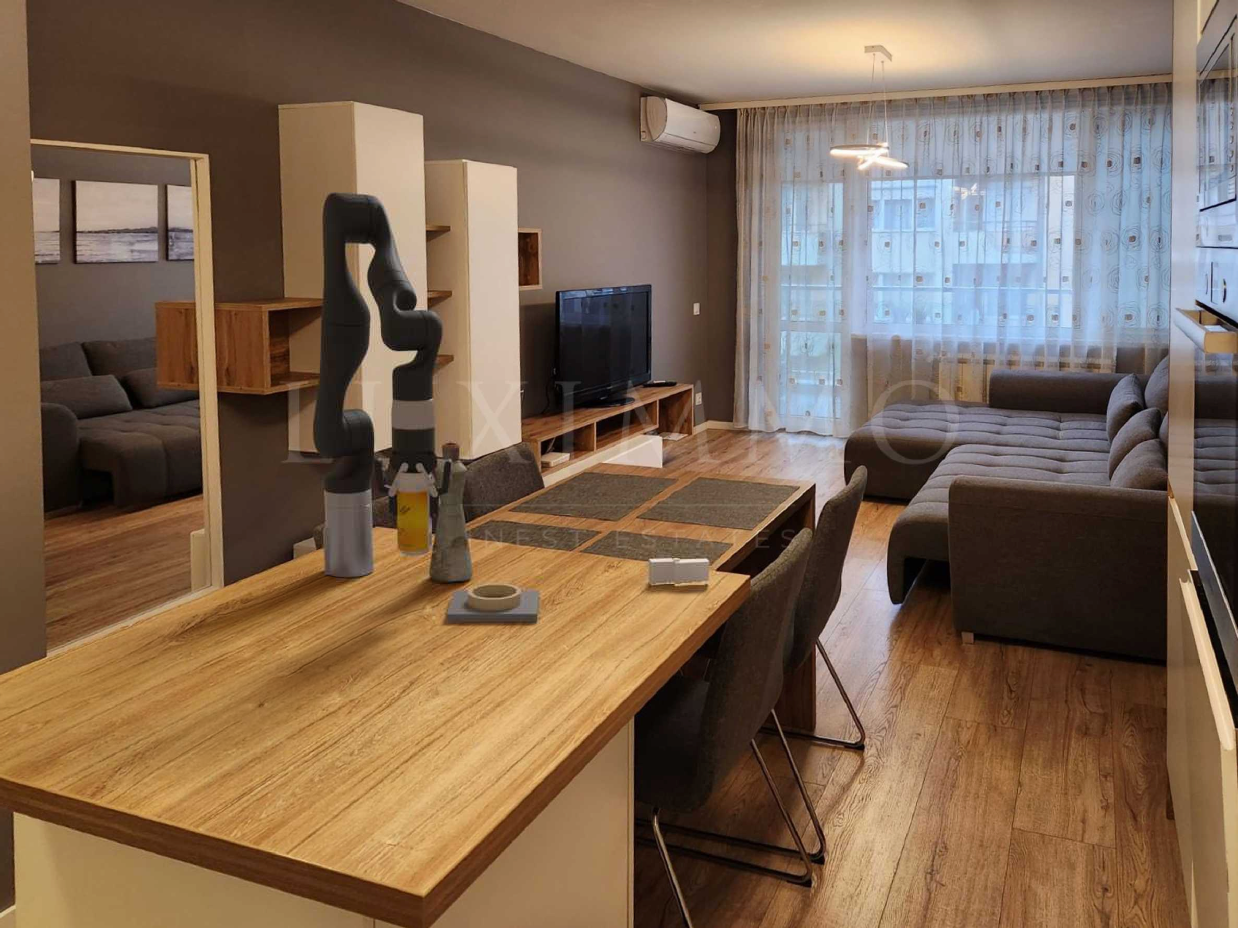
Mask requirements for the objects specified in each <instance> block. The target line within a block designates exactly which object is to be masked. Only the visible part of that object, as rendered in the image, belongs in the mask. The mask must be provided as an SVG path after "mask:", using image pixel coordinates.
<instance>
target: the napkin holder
mask: <svg viewBox="0 0 1238 928" xmlns="http://www.w3.org/2000/svg"><path fill="white" fill-rule="evenodd" d="M702 581H710V561H709V560H708V559H707V558H690V559H689V558H687V559H686V558H683V559H682V558H681V559H680V558H679V557H677V558H675V557H674V558H672V557H667V558H665V557H664V558H649V559H648V583H649V582H650V583H651V584H656V583H667V582H669V583H671V582H674V583H675V584H681V583H692V582H702Z"/></svg>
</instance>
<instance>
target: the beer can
mask: <svg viewBox="0 0 1238 928" xmlns="http://www.w3.org/2000/svg"><path fill="white" fill-rule="evenodd" d="M429 477H430V479H431V475H430V474H429ZM430 497H431V493H430V491H429V487H428V486H427V479H426V477H425V475H424V473H401V474H400V476H399V478H398V486H397V517H396V521H397V522H396V525H397V526H396V527H397V533H396V534H397V549H398V550H399V551H400V553H401V554H402V555H405V556H422V555H427V554H428V553H429V552H430V550H431V549H433V545H432V543H433V541H432V540H433V536H432V535H433V533H432V529H433V527H432V521H433V520H432V518H433V517H430Z"/></svg>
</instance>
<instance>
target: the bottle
mask: <svg viewBox="0 0 1238 928" xmlns="http://www.w3.org/2000/svg"><path fill="white" fill-rule="evenodd" d="M441 451H442V452H441V453H442V454H441V455H442V459H443V460H447V459H451V460H452V461H453V465H452V473H451V481H450V488H449V490H448V493H446V494H442V495H440V496H439V511H438V513H437V522H436V529H435V532H434V533H435V534H434V539H433V545H432V550H431V551H432V552H431V558H430V563H429V564H430V565H429V569H428V575H429V576H430V578H431V579H432V580H433V581H434V582H435V583H452V582H465V581H468V580H469V581H470V580H471V578H472V577H473V574H474V569H473V568H474V567H473V563H472V557H471V552H470V545H469V539H468V537H469V536H468V532H467V525H466V520H465V514H464V513H465V512H464V509H463V502H462V501H463V497H464V496H463V494H464V489H465V485H466V483H465V482H466V477H467V471H468V470H467V467H466V466H465V465H464V463H462V462H461V460H460V459H459V458H460V444H459V443H455V442H452V441H449V442H445V443H443V444H442V446H441ZM434 470H435V477H436V484H437V486H438V487H441V486H442V481H443V473H444V472H442V471H441V470H440V467H439V465H436V466H435V468H434Z"/></svg>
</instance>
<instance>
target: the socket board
mask: <svg viewBox="0 0 1238 928" xmlns="http://www.w3.org/2000/svg"><path fill="white" fill-rule="evenodd" d="M451 597H452V598H451V600H450V603H449V606H448V609H447V612H446V623H537V622H538V616H539V606H540V589H522V588H520V587H518V586H516V585H514V584H507V583H499V582H497V583H493V582H492V583H485V584H484V583H483V584H479V585H475V586H473V587H471V588H468V589H463V590H461V589H459V590H458V589H455V590H454V591H453V594H452V596H451Z"/></svg>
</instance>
